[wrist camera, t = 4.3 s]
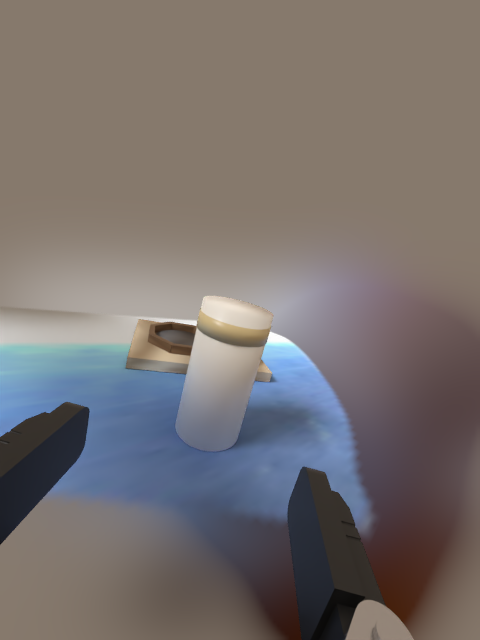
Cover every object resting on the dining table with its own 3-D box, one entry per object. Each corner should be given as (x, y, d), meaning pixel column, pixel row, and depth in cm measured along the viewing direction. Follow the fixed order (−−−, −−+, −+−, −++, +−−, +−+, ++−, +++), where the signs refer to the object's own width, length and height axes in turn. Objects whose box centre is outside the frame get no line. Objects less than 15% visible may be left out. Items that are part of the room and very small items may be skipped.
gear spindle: (176, 452, 17) (209, 308, 15) (173, 406, 22) (198, 291, 20) (247, 452, 19) (286, 322, 17) (230, 409, 24) (259, 304, 21)
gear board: (125, 368, 26) (128, 347, 25) (137, 326, 38) (139, 312, 37) (269, 382, 31) (274, 365, 31) (239, 342, 43) (243, 329, 43)
